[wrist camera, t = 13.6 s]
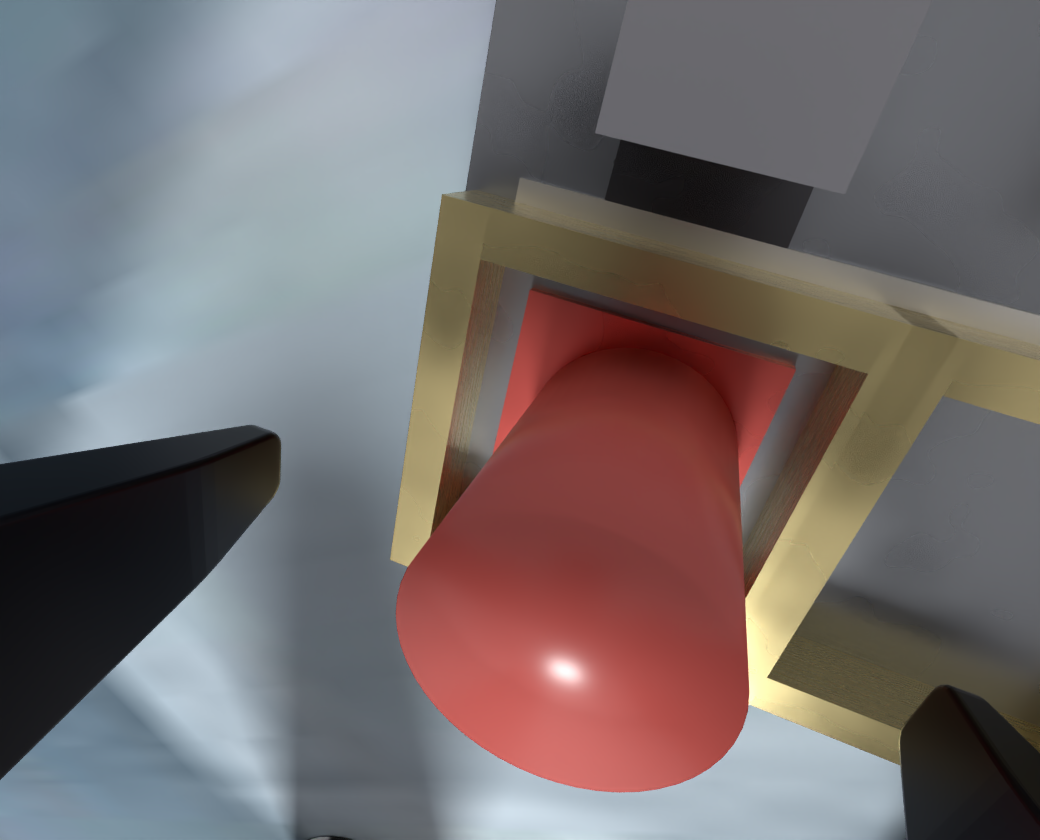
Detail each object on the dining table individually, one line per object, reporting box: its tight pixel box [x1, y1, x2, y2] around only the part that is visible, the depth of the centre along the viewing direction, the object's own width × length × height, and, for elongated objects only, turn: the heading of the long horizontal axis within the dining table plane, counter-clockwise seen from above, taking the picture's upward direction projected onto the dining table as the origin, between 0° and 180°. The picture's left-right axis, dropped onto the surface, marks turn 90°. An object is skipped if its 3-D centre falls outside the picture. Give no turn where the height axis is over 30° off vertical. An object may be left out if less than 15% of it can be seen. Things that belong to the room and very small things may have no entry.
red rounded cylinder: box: [396, 348, 750, 792], centre depth 9 cm, size 4×4×6 cm
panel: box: [390, 0, 1040, 765], centre depth 9 cm, size 16×20×4 cm
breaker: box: [595, 0, 932, 195], centre depth 7 cm, size 2×2×3 cm
